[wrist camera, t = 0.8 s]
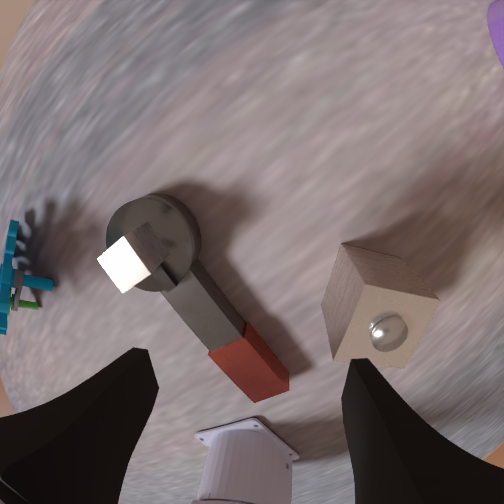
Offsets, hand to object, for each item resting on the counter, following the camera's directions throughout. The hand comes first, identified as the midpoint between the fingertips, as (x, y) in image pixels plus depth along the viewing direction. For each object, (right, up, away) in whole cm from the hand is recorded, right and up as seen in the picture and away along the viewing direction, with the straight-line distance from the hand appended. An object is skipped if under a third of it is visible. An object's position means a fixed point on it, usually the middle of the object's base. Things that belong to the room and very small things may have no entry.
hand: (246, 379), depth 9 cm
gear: (-21, +3, +12) cm, 24 cm away
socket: (+8, +2, +9) cm, 12 cm away
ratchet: (-3, +1, +11) cm, 11 cm away
